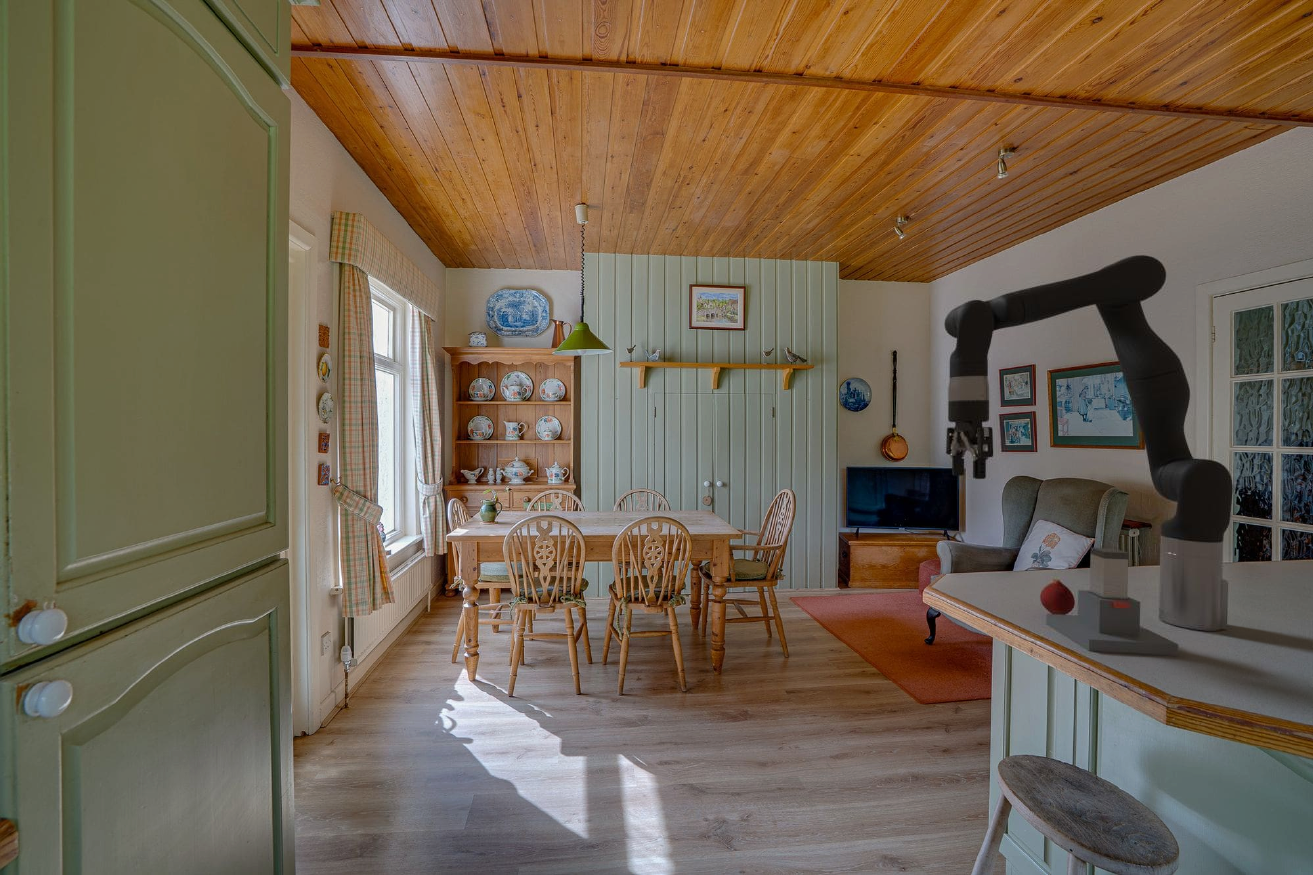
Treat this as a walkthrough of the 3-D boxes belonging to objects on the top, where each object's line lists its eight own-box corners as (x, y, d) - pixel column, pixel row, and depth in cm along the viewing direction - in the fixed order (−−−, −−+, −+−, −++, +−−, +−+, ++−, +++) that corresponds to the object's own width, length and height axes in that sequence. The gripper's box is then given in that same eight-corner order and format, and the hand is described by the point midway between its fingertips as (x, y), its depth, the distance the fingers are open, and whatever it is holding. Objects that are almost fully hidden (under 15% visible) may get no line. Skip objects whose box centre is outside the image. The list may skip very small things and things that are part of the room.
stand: (1123, 627, 112) (1124, 587, 112) (1178, 655, 98) (1179, 609, 98) (1046, 623, 114) (1046, 583, 114) (1089, 650, 100) (1089, 605, 100)
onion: (1063, 613, 121) (1064, 575, 121) (1080, 622, 115) (1081, 583, 115) (1034, 612, 122) (1035, 574, 122) (1050, 621, 116) (1051, 581, 116)
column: (1112, 623, 108) (1114, 548, 108) (1127, 631, 104) (1128, 552, 104) (1088, 622, 109) (1090, 547, 108) (1102, 630, 105) (1104, 552, 104)
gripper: (1006, 397, 112) (1006, 480, 112) (968, 400, 126) (968, 474, 126) (967, 397, 112) (967, 480, 112) (934, 401, 126) (934, 474, 127)
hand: (968, 477), depth 119 cm, fingers open, 8 cm apart
